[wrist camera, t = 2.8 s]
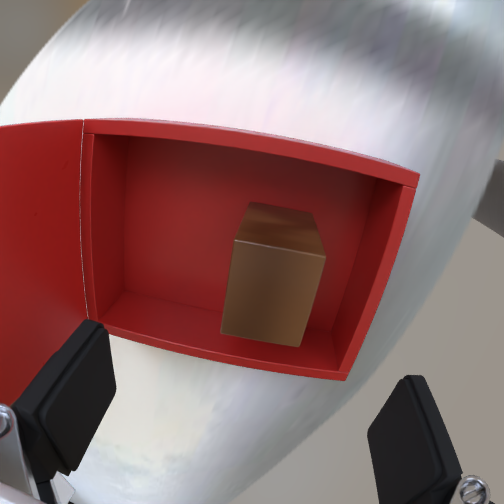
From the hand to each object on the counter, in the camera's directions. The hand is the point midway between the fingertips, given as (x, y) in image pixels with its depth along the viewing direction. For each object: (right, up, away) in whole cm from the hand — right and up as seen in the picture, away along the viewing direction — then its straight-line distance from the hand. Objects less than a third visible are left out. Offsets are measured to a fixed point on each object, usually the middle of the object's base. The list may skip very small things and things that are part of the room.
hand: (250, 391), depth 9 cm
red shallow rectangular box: (-1, +6, +12) cm, 14 cm away
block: (+1, +5, +12) cm, 13 cm away
